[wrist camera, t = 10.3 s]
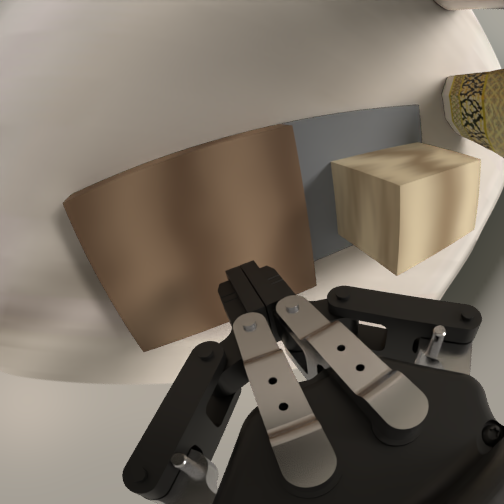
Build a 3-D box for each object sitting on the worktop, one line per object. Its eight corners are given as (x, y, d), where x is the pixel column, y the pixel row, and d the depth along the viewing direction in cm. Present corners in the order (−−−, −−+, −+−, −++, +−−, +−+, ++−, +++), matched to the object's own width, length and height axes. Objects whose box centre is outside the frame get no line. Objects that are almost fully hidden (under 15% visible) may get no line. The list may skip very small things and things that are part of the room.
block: (417, 142, 21) (480, 159, 16) (418, 202, 24) (474, 229, 19) (330, 161, 20) (400, 185, 14) (338, 234, 23) (396, 275, 17)
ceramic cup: (422, 111, 21) (515, 131, 12) (445, 42, 18) (526, 46, 9) (470, 175, 27) (535, 203, 18) (489, 113, 24) (552, 131, 15)
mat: (416, 104, 20) (418, 104, 20) (419, 213, 26) (421, 214, 25) (278, 124, 18) (280, 124, 17) (303, 263, 23) (304, 265, 23)
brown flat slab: (278, 124, 18) (292, 125, 16) (304, 273, 24) (316, 285, 22) (71, 194, 15) (62, 203, 13) (142, 334, 21) (143, 352, 19)
